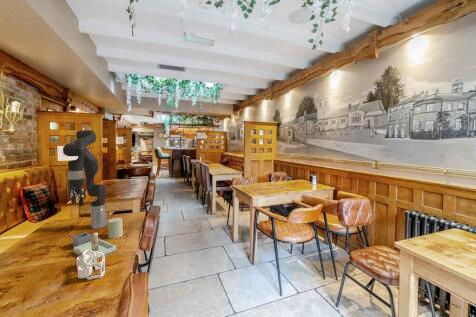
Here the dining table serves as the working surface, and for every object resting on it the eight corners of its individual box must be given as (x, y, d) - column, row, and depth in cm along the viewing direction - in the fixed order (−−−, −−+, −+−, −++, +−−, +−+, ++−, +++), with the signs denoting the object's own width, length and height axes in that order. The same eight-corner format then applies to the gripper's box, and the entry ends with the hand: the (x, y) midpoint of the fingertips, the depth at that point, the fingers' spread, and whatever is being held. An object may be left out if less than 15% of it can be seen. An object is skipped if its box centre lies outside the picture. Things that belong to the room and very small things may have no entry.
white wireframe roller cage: (76, 265, 110) (76, 252, 109) (101, 258, 117) (100, 245, 116) (78, 285, 94) (77, 269, 94) (106, 275, 102) (106, 261, 101)
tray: (98, 243, 135) (98, 238, 135) (116, 250, 125) (116, 246, 125) (73, 252, 123) (73, 247, 123) (90, 262, 113) (90, 256, 113)
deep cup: (85, 241, 137) (85, 232, 136) (91, 244, 133) (90, 234, 133) (73, 246, 131) (72, 236, 130) (78, 248, 127) (78, 238, 127)
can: (109, 239, 140) (108, 222, 139) (106, 235, 147) (106, 218, 146) (124, 236, 146) (124, 219, 145) (121, 232, 153) (121, 216, 152)
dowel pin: (96, 248, 126) (96, 232, 126) (99, 249, 125) (99, 233, 124) (90, 250, 123) (89, 234, 123) (93, 252, 122) (92, 235, 121)
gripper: (89, 178, 122) (90, 205, 123) (77, 176, 129) (78, 201, 130) (75, 180, 116) (76, 208, 117) (62, 177, 122) (64, 204, 123)
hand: (77, 204), depth 123 cm, fingers open, 8 cm apart
